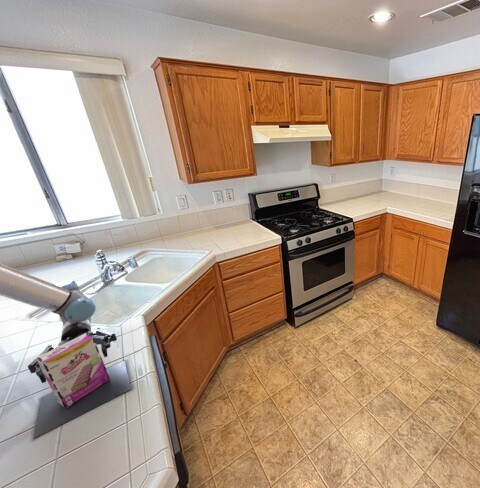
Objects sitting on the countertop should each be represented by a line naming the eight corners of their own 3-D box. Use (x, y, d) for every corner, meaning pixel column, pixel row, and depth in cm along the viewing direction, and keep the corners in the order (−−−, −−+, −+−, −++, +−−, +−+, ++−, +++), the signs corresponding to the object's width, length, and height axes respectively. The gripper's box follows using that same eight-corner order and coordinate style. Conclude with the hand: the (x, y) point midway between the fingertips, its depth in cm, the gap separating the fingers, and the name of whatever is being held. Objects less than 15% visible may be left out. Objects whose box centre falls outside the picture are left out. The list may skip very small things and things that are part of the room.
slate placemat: (34, 438, 65) (34, 437, 65) (41, 398, 76) (41, 397, 76) (131, 389, 77) (130, 389, 77) (124, 361, 89) (124, 360, 89)
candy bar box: (66, 410, 72) (41, 363, 66) (58, 403, 74) (33, 357, 69) (112, 379, 81) (93, 336, 76) (103, 374, 83) (85, 331, 78)
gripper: (123, 325, 100) (130, 353, 85) (30, 359, 85) (18, 402, 70) (117, 308, 98) (123, 334, 82) (20, 341, 82) (5, 380, 67)
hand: (75, 365), depth 76 cm, fingers open, 13 cm apart
